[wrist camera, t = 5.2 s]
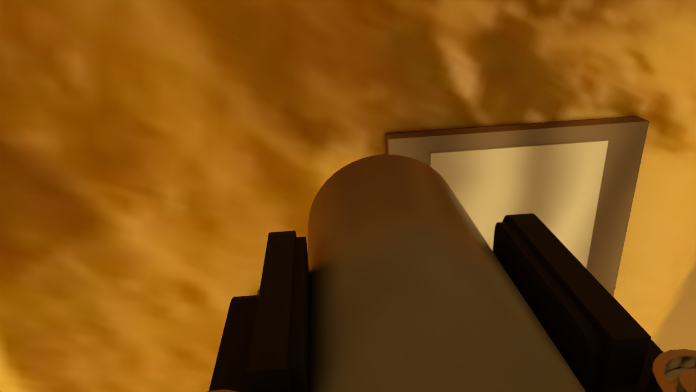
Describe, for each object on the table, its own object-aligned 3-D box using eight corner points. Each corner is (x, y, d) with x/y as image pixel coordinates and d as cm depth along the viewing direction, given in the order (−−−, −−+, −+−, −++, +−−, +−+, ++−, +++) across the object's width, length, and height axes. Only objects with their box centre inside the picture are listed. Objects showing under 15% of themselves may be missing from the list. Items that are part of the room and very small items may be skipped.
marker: (466, 145, 12) (918, 633, 3) (458, 285, 14) (736, 866, 5) (297, 156, 12) (258, 712, 3) (310, 297, 14) (311, 922, 5)
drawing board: (636, 116, 31) (651, 122, 30) (590, 352, 39) (600, 365, 37) (385, 133, 30) (389, 140, 29) (389, 372, 38) (392, 386, 36)
